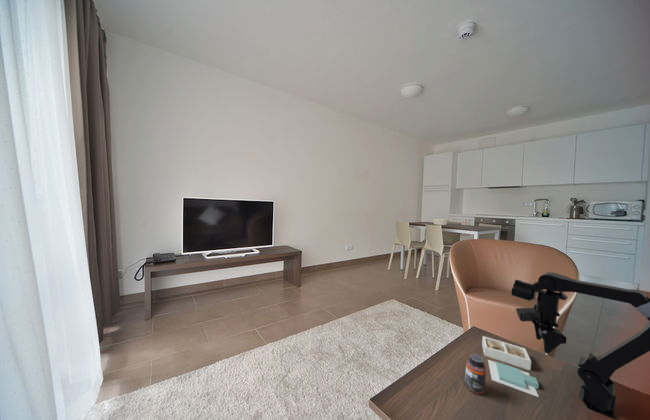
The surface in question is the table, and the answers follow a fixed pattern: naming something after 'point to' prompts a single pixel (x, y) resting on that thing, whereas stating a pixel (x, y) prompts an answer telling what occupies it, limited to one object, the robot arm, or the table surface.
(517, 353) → the cube
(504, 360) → the tub
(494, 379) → the mat
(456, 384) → the table surface
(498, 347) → the cube
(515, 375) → the lid
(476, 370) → the supplement bottle
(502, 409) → the table surface
